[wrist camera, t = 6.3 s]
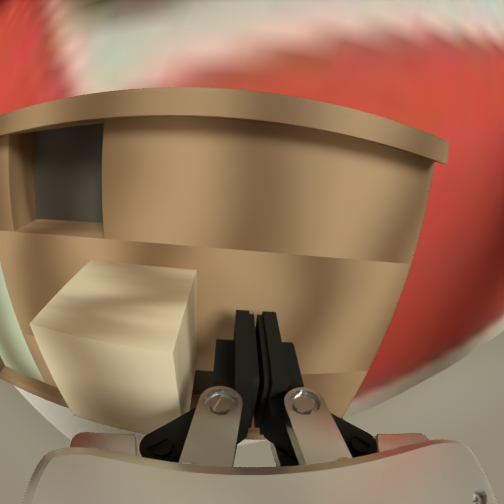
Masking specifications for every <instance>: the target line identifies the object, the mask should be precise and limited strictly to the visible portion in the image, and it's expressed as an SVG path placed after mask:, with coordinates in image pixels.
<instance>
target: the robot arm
mask: <svg viewBox="0 0 504 504" xmlns="http://www.w3.org/2000/svg"><path fill="white" fill-rule="evenodd" d="M253 415H254V427H255V428H259V430H260V435H264V437H265V438H266V439H267V440H269V441H270V444H271V450H272V453H273V456H274V460H275V463H276V466H277V467H257V468H256V467H255V468H253V467H252V468H251V467H248V468H247V467H244V468H243V467H233V465H234V459H235V454H236V448H237V444H238V443H240V442H241V441H242V440H244V439H245V438H246V437H247V434H248V429H249V428H251V425H252V420H253ZM22 504H497V502H496V499H495V496H494V494H493V491H492V489H491V486H490V484H489V482H488V480H487V477H486V475H485V473H484V471H483V469H482V467H481V465H480V464H479V462H478V460H477V459H476V457H475V455H474V454H473V453H472V451H471V450H470V449H469V448H468V447H467V446H466V445H465V444H463V443H461V442H459V441H454V440H429V439H428V438H427V437H426V436H425V435H423V434H420V433H409V434H377V436H374V437H373V436H371V435H370V434H369V433H367V432H365V431H363V430H361V429H359V428H357V427H356V426H354V425H352V424H350V423H348V422H346V421H345V420H343V419H341V418H339V417H337V416H336V415H334V414H332V413H330V411H329V409H328V407H327V405H326V403H325V401H324V399H323V397H322V396H321V394H319V393H318V392H317V391H315V390H313V389H310V388H305V387H304V384H303V380H302V376H301V372H300V368H299V364H298V360H297V356H296V352H295V348H294V344H293V343H292V342H282V340H281V335H280V330H279V325H278V320H277V315H276V312H268V311H263V312H262V315H260V314H258V315H257V319H256V327H255V321H254V314H249V311H248V310H236V315H235V328H234V340H225V339H216V347H215V358H214V369H213V381H212V387H211V388H208V389H206V390H205V391H204V392H203V393H202V394H201V396H200V398H199V401H198V404H197V407H195V408H193V409H192V410H190V411H188V412H186V413H185V414H183V415H181V416H180V417H178V418H176V419H174V420H173V421H171V422H169V423H167V424H165V425H164V426H162V427H160V428H158V429H156V430H154V431H153V432H151V433H149V434H147V435H146V436H145V437H135V435H125V434H103V433H90V432H83V433H79V434H77V435H76V436H75V437H74V438H73V439H72V442H71V446H70V448H62V449H56V450H53V451H51V452H49V453H47V454H46V455H45V456H44V457H43V458H42V459H41V460H40V462H39V463H38V465H37V467H36V469H35V471H34V472H33V474H32V477H31V479H30V481H29V484H28V486H27V489H26V492H25V495H24V498H23V502H22Z"/></svg>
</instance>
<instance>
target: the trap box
mask: <svg viewBox="0 0 504 504" xmlns="http://www.w3.org/2000/svg"><path fill="white" fill-rule="evenodd" d="M449 144H450V142H448V141H446V140H443V139H441V138H439V137H436V136H434V135H431V134H429V133H426V132H424V131H421V130H418V129H416V128H413V127H410V126H407V125H405V124H402V123H399V122H396V121H393V120H390V119H386V118H383V117H380V116H377V115H373V114H370V113H366V112H362V111H359V110H355V109H351V108H347V107H343V106H339V105H334V104H330V103H325V102H321V101H316V100H310V99H305V98H299V97H293V96H287V95H281V94H273V93H266V92H257V91H247V90H236V89H221V88H196V87H168V88H143V89H129V90H118V91H109V92H101V93H93V94H87V95H80V96H75V97H69V98H64V99H59V100H54V101H50V102H45V103H41V104H37V105H33V106H29V107H26V108H22V109H18V110H15V111H12V112H9V113H5V114H2V115H0V378H1V379H3V380H5V381H7V382H8V383H10V384H13V385H15V386H17V387H19V388H21V389H23V390H25V391H27V392H30V393H32V394H34V395H36V396H39V397H41V398H44V399H46V400H49V401H51V402H54V403H56V404H59V405H62V406H65V407H67V408H69V407H68V405H67V403H66V401H65V400H64V398H63V396H62V394H61V392H60V391H59V389H58V387H57V385H56V383H55V381H54V379H53V377H52V375H51V373H50V371H49V369H48V367H47V365H46V363H45V360H44V358H43V356H42V354H41V351H40V349H39V347H38V344H37V342H36V339H35V337H34V334H33V332H32V329H31V326H30V322H31V321H32V320H33V319H34V318H35V317H36V316H37V315H38V313H39V312H40V311H41V310H42V309H43V308H44V307H45V306H46V305H47V304H48V303H49V301H50V300H51V299H52V298H53V297H54V296H55V295H56V294H57V293H58V292H59V291H60V290H61V289H62V288H63V287H64V286H65V285H66V284H67V283H68V282H69V281H70V280H71V279H72V278H73V277H74V276H75V275H76V274H77V273H78V272H79V271H80V270H81V269H82V268H83V267H84V266H85V265H86V264H87V263H88V262H89V261H90V260H94V261H104V262H114V263H124V264H135V265H146V266H157V267H168V268H180V269H192V270H197V357H198V358H197V364H196V370H195V377H194V383H193V390H192V397H191V404H190V410H192V409H193V408H195V407H197V404H198V401H199V398H200V396H201V394H202V393H203V392H204V391H205V390H206V389H208V388H211V387H212V381H213V369H214V358H215V347H216V339H225V340H234V328H235V315H236V310H248V311H249V314H254V321H255V327H256V319H257V315H258V314H260V315H262V312H263V311H268V312H276V315H277V320H278V325H279V330H280V335H281V340H282V342H292V343H293V344H294V348H295V352H296V356H297V360H298V364H299V368H300V372H301V376H302V380H303V384H304V387H305V388H310V389H313V390H315V391H317V392H318V393H319V394H321V396H322V397H323V399H324V401H325V403H326V405H327V407H328V409H329V411H330V413H332V414H334V415H336V416H337V417H339V418H341V419H343V418H342V417H343V415H344V414H345V412H346V410H347V409H348V407H349V405H350V403H351V402H352V400H353V398H354V396H355V395H356V393H357V391H358V389H359V387H360V385H361V383H362V381H363V380H364V378H365V376H366V374H367V372H368V370H369V368H370V366H371V364H372V362H373V360H374V357H375V355H376V353H377V351H378V349H379V347H380V344H381V342H382V340H383V338H384V335H385V333H386V331H387V328H388V326H389V324H390V321H391V319H392V316H393V314H394V311H395V309H396V306H397V303H398V301H399V298H400V295H401V293H402V290H403V287H404V284H405V281H406V278H407V275H408V272H409V269H410V266H411V263H412V259H413V256H414V253H415V249H416V246H417V242H418V239H419V235H420V231H421V227H422V223H423V219H424V215H425V211H426V206H427V202H428V197H429V192H430V187H431V181H432V176H433V170H434V163H435V162H438V163H443V164H447V160H448V152H449ZM245 439H266V438H265V437H264V435H260V430H259V428H255V427H254V415H253V420H252V425H251V428H249V429H248V434H247V437H246V438H245Z"/></svg>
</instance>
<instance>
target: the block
mask: <svg viewBox="0 0 504 504" xmlns="http://www.w3.org/2000/svg"><path fill="white" fill-rule="evenodd" d="M30 326H31V329H32V332H33V334H34V337H35V339H36V342H37V344H38V347H39V349H40V351H41V354H42V356H43V358H44V360H45V363H46V365H47V367H48V369H49V371H50V373H51V375H52V377H53V379H54V381H55V383H56V385H57V387H58V389H59V391H60V392H61V394H62V396H63V398H64V400H65V401H66V403H67V405H68V407H69V408H70V410H71V412H72V413H73V415H75V416H78V417H81V418H84V419H87V420H91V421H94V422H97V423H101V424H105V425H108V426H112V427H116V428H120V429H124V430H129V431H133V432H138V433H143V434H149V433H151V432H153V431H154V430H156V429H158V428H160V427H162V426H164V425H165V424H167V423H169V422H171V421H173V420H174V419H176V418H178V417H180V416H181V415H183V414H185V413H186V412H188V411H190V404H191V397H192V390H193V383H194V377H195V370H196V364H197V358H198V357H197V270H192V269H180V268H168V267H157V266H146V265H135V264H124V263H114V262H104V261H94V260H90V261H89V262H88V263H87V264H86V265H85V266H84V267H83V268H82V269H81V270H80V271H79V272H78V273H77V274H76V275H75V276H74V277H73V278H72V279H71V280H70V281H69V282H68V283H67V284H66V285H65V286H64V287H63V288H62V289H61V290H60V291H59V292H58V293H57V294H56V295H55V296H54V297H53V298H52V299H51V300H50V301H49V303H48V304H47V305H46V306H45V307H44V308H43V309H42V310H41V311H40V312H39V313H38V315H37V316H36V317H35V318H34V319H33V320H32V321H31V322H30Z"/></svg>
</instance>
